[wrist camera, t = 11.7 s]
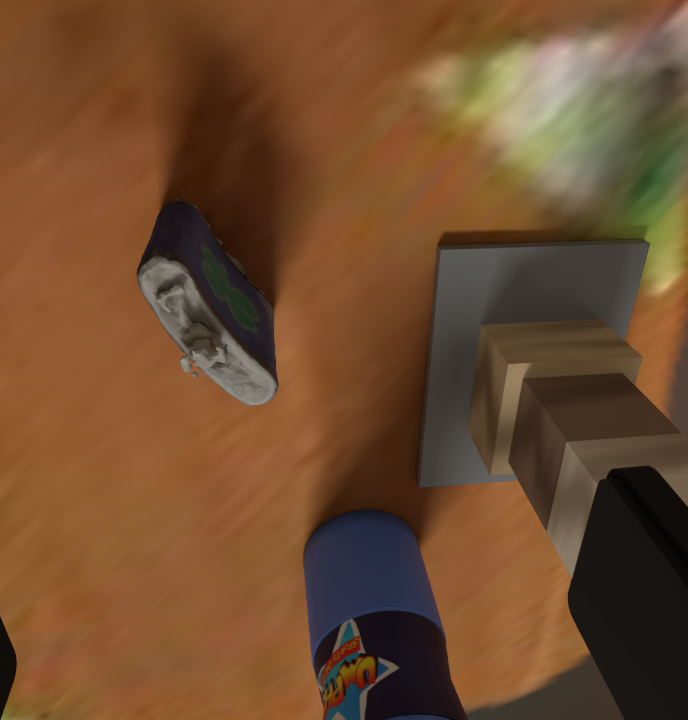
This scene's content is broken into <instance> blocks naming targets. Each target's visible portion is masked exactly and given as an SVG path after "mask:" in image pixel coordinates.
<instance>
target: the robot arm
mask: <svg viewBox="0 0 688 720" xmlns="http://www.w3.org/2000/svg"><path fill="white" fill-rule="evenodd" d="M568 605H569V609H570V613H571V615H572V618H573V620H574V622H575V624H576V626H577V628H578V630H579V632H580V633H581V635H582V637H583V639H584V641H585V643H586V645H587V647H588V649H589V651H590V653H591V655H592V657H593V659H594V661H595V663H596V665H597V667H598V669H599V671H600V672H601V674H602V676H603V678H604V680H605V682H606V684H607V686H608V688H609V690H610V692H611V694H612V696H613V698H614V700H615V702H616V704H617V706H618V707H619V710H620V711H621V713H622V715H623V717H624V719H625V720H688V506H687V505H686V504H685V503H684V502H683V500H682V499H681V498H680V497H679V496H678V494H677V493H676V492H675V491H674V490H673V489H672V487H671V486H670V485H669V484H668V483H667V481H666V480H665V479H664V478H663V477H662V476H661V474H660V473H659V472H658V471H657V470H656V469H655V468H653V467H651V466H636V467H625V468H615V469H611V470H610V471H609V472H608V475H607V477H606V479H601V480H600V481H599V482H598V485H597V488H596V492H595V495H594V499H593V503H592V506H591V510H590V514H589V518H588V521H587V525H586V529H585V532H584V536H583V540H582V543H581V547H580V551H579V554H578V558H577V562H576V565H575V569H574V573H573V577H572V580H571V584H570V588H569V591H568ZM16 665H17V660H16V654H15V651H14V648H13V646H12V643H11V641H10V639H9V636H8V634H7V631H6V629H5V627H4V624H3V622H2V620H1V617H0V720H1V717H2V714H3V711H4V708H5V705H6V702H7V699H8V697H9V694H10V691H11V688H12V685H13V682H14V678H15V674H16Z"/></svg>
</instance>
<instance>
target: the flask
mask: <svg viewBox="0 0 688 720" xmlns="http://www.w3.org/2000/svg"><path fill="white" fill-rule="evenodd" d="M222 243H223V241H220V240H219V239H217V238H216V237H214V235H213V234H212V232H211V229H210V224H208V223H207V222H206V220H205V218H204V216H203V215H202V214H201V212H200V211H199V209H198V208H197V206H196V205H194V204H192V203H189V202H186V201H181V200H179V199H178V198H175V201H173V202H171V203H168V204H167V205H166V206H164V207H163V209H162V210H161V211H160V213H159V215H158V216H157V220H156V224H155V226H154V229H153V233H152V235H151V238H150V240H149V243H148V245H147V247H146V249H145V252H144V254H143V256H142V259H141V262H140V264H139V267H138V269H137V278H138V285H139V287H140V289H141V291H142V293H143V295H144V297H145V298H146V300H147V301H148V302H149V304H150V307H151V308H152V310H153V311H154V313H155V314H156V316H157V317H158V319H159V320H160V322H161V324H162V325H163V327H164V329H165V330H166V331H167V333H168V334H169V336H170V337H171V338H172V339H173V340H174V342H175V343H176V344H177V345H178V346H179V348H180V350H181V351H183V352H184V353H185V354H186V355H187V356H182V357H181V360H180V363H181V366H182V368H183V370H184V371H185V372H191V370H192V365H191V364H190V363H189V359H190V360H191V361H192V362H194V365H196V366H197V367H198V368H199V369H201V370H202V371H203V372H204V373H205V374H206V375H207V376H208V377H209V378H211V379H212V380H213V381H214V382H216V383H217V384H218V385H219V386H220V387H221V388H222V389H224V390H225V391H226V392H227V393H229V394H230V395H232V396H233V397H234V398H236V399H237V400H239V401H240V402H242V403H244V404H246V405H249V406H251V405H260V404H264V403H267V402H269V401H270V400H271V399H272V398H273V397H274V395H275V393H276V392H277V390H278V379H277V373H276V358H275V343H274V310H273V309H272V306H271V305H270V303H269V301H268V300H267V298H266V296H265V293H263V291H262V290H260V291H259V290H258V289H257V288H256V287H255V286H254V285H253V283H252V282H251V280H249V277H248V276H247V275H246V274H247V272H246V271H245V270H244V269H243V267H242V264H241V263H239V262H238V260H237V259H236V258H234V257H233V256H232V257H231V255H230V254H228V253H225V251H224V249H223V247H222ZM192 375H193V376H195V377H196V378H197V377H198V376H199V374H198V373H197V372H194V373H192Z"/></svg>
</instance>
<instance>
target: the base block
mask: <svg viewBox="0 0 688 720" xmlns="http://www.w3.org/2000/svg"><path fill="white" fill-rule="evenodd" d="M642 358H643V357H642V356H641V355H640V354H639V353H638V352H637V351H636V350H634V349H633V348H632V347H631V346H630V345H629V344H628V343H627V342H626V341H625V340H624V339H622V338H621V337H620V336H619V335H618V334H617V333H616V332H615V331H614V330H613V329H611V328H610V327H609V326H608V325H607V324H606V323H605V322H604V321H603V320H602V319H594V320H572V321H550V322H528V323H506V324H485V325H480V333H479V341H478V348H477V356H476V363H475V371H474V379H473V386H472V394H471V402H470V409H469V417H468V424H467V430H468V432H469V434H470V436H471V438H472V440H473V442H474V444H475V446H476V448H477V450H478V452H479V454H480V456H481V458H482V460H483V462H484V464H485V466H486V468H487V470H488V472H489V474H490V476H493V475H507V474H514V472H513V470H512V468H511V466H510V465H509V463H508V459H509V454H510V448H511V442H512V437H513V431H514V425H515V420H516V414H517V408H518V403H519V397H520V391H521V385H522V380H523V378H540V377H558V376H576V375H594V374H612V373H623V374H624V375H625V376H626V377H627V378H628V379H629V380H630V381H631V382H632V383H633V384H634V385H635V383H636V379H637V376H638V372H639V368H640V365H641V361H642Z"/></svg>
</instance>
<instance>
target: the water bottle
mask: <svg viewBox="0 0 688 720" xmlns="http://www.w3.org/2000/svg"><path fill="white" fill-rule="evenodd" d="M303 564H304V575H305V587H306V599H307V611H308V623H309V634H310V644H311V655H312V664H313V668H314V671H315V674H316V678H317V682H318V687H319V691H320V695H321V699H322V703H323V720H468V719H467V716H466V714H465V711H464V709H463V707H462V704H461V702H460V699H459V697H458V695H457V692H456V690H455V688H454V685H453V683H452V680H451V677H450V670H449V663H448V656H447V649H446V638H445V633H444V630H443V626H442V623H441V619H440V616H439V612H438V609H437V606H436V602H435V599H434V595H433V592H432V589H431V585H430V582H429V579H428V575H427V572H426V569H425V565H424V562H423V559H422V555H421V552H420V549H419V545H418V542H417V539H416V536H415V534H414V531H413V530H412V528H411V527H410V526H409V525H408V523H406V522H405V521H404V520H402V519H401V518H399V517H397V516H395V515H393V514H391V513H387V512H383V511H378V510H357V511H353V512H348V513H344V514H342V515H339V516H336V517H334V518H332V519H330V520H329V521H327V522H325V523H324V524H323V525H321V526H320V527H319V528H317V529H316V531H315V532H314V533H313V534H312V535H311V536H310V538H309V540H308V541H307V543H306V545H305V549H304V553H303Z"/></svg>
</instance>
